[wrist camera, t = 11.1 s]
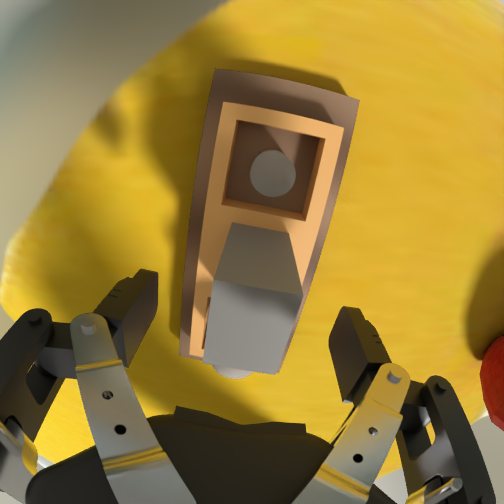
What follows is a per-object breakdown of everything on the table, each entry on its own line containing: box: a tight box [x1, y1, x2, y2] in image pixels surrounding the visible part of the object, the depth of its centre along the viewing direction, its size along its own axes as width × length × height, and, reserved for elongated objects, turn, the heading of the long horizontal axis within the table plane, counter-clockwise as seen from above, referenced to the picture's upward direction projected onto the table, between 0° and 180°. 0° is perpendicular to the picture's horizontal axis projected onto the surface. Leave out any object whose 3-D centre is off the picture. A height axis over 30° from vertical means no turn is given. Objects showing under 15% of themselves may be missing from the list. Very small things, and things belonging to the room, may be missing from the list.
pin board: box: [179, 68, 360, 379], centre depth 15 cm, size 20×8×6 cm, turn 169°
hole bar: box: [189, 102, 344, 374], centre depth 13 cm, size 16×6×8 cm, turn 169°
